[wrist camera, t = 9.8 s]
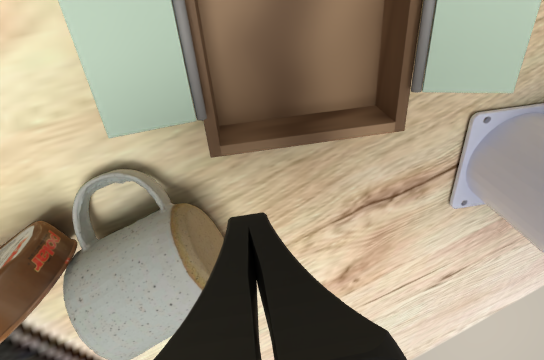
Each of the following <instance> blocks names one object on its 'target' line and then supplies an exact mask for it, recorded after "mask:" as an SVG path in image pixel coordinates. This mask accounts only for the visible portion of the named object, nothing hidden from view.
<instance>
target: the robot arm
mask: <svg viewBox="0 0 544 360" xmlns="http://www.w3.org/2000/svg"><path fill="white" fill-rule="evenodd" d="M486 117H487V118H486ZM485 118H486V120H484V119H485ZM483 120H484V121H483ZM462 201H463V202H462ZM482 204H487V205H488V206H489V207H490V208H492V209H493V210H494V211H495V212H496V213H497V214H499V215H500V216H501V217H502V218H503V219H504V220H506V221H507V222H508V223H509V224H510V225H511V226H513V227H514V228H515V229H516V230H517V231H518V232H520V233H521V234H522V235H523V236H524V237H525V238H527V239H528V240H529V241H530V242H531V243H532V244H533V245H535V246H536V247H537V248H538V249H539V250H540V251H542V252H543V253H544V103H542V104H535V105H527V106H520V107H513V108H505V109H498V110H491V111H483V112H478V113H475V114H474V115H473V116H472V117H471V119H470V122H469V126H468V131H467V135H466V139H465V143H464V147H463V151H462V155H461V159H460V163H459V167H458V171H457V175H456V179H455V183H454V187H453V191H452V195H451V199H450V206H451V207H452V208H454V209H457V208H463V207H470V206H476V205H482ZM256 280H257V282H256ZM257 284H258V288H259V292H260V296H261V300H262V304H263V308H264V312H265V316H266V320H267V324H268V328H269V332H270V337H271V341H272V347H273V353H274V360H407V359H406V357H405V356H404V354H403V352H402V351H401V349H400V348H399V346H398V345H397V343H396V342H395V340H394V339H393V338H392V336H391V335H390V334H389V332H388V331H387V330H385V329H384V328H382V327H380V326H378V325H377V324H375V323H373V322H372V321H370V320H368V319H367V318H365V317H364V316H362V315H361V314H359V313H358V312H356V311H355V310H353V309H352V308H351V307H349V306H348V305H346V304H345V303H344V302H342V301H341V300H340V299H339V298H337V297H336V296H335V295H334V294H332V293H331V292H330V291H328V290H327V289H326V288H325V287H324V286H323V285H322V284H320V283H319V282H318V281H317V280H316V279H315V278H314V277H313V276H312V275H311V274H310V273H309V272H308V271H307V270H306V269H305V268H304V267H303V266H302V265H301V264H300V263H299V262H298V260H297V259H296V258H295V257H294V256H293V255H292V253H291V252H290V251H289V250H288V248H287V247H286V246H285V245H284V243H283V242H282V241H281V239H280V238H279V236H278V235H277V233H276V232H275V230H274V229H273V227H272V225H271V224H270V222H269V220H268V218H267V215H266V214H265V213H257V214H250V215H244V216H237V217H231V218H230V219H229V220H228V226H227V230H226V234H225V238H224V241H223V244H222V247H221V250H220V253H219V256H218V258H217V261H216V263H215V265H214V268H213V270H212V272H211V274H210V277H209V279H208V281H207V283H206V285H205V287H204V288H203V290H202V292H201V294H200V296H199V297H198V299H197V301H196V302H195V304H194V306H193V307H192V309H191V310H190V312H189V314H188V315H187V317H186V318H185V320H184V321H183V323H182V324H181V325H180V327H179V328H178V329H177V331H176V332H175V333H174V335H173V336H172V337H171V339H170V340H169V341H168V343H167V344H166V345H165V347H164V348H163V349H162V350H161V352H160V353H159V354H158V355H157V356H156V357H155V358H154V360H261V353H260V344H259V330H258V305H257Z"/></svg>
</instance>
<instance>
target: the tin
mask: <svg viewBox="0 0 544 360" xmlns="http://www.w3.org/2000/svg"><path fill="white" fill-rule="evenodd" d="M76 248H77V241H76V240H75V239H71V238H69V237H68V236H66V235H65V234H64V233H62V232H61V231H59V230H58V229H56V228H55V227H54V226H52V225H51V224H49V223H47V222H45V221H37V222H34V223H32V224H31V225H29V226H28V227H26V228H25V229H24V230H22V231H21V232H20V233H18V234H17V235H16V236H15V237H13V238H12V239H11V240H10V241H8V242H7V243H6V244H4V245H3V246H2V247H0V343H1V342H3V341H4V340H5V339H6V338H7V337H8V336H9V335H10V334H11V333H12V332H13V331H14V330H15V329H16V328H17V327H18V326H19V325H20V324H21V323H22V322H23V321H24V320H25V319H26V318H27V316H28V315H29V314H30V313H31V312H32V311H33V310H34V309H35V308H36V307H37V305H38V304H39V303H40V302H41V301H42V299H43V298H44V297H45V296H46V295H47V294H48V292H49V291H50V290H51V288H52V287H53V286H54V284H55V283H56V282H57V280H58V279H59V278H60V276H61V275H62V273H63V272H64V270H65V269H66V268H67V266H68V264H69V262H70V261H71V259H72V257H73V256H74V253H75V251H76Z"/></svg>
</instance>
